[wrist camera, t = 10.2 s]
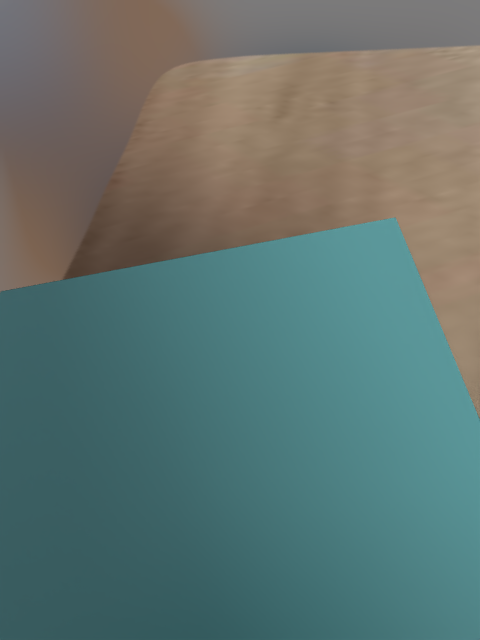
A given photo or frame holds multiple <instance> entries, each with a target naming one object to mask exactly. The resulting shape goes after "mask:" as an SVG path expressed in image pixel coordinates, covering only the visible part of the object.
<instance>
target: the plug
mask: <svg viewBox="0 0 480 640" xmlns="http://www.w3.org/2000/svg"><path fill="white" fill-rule="evenodd" d="M0 640H480V419H479V417H478V415H477V412H476V410H475V407H474V405H473V403H472V400H471V398H470V395H469V393H468V391H467V388H466V386H465V383H464V381H463V379H462V376H461V374H460V371H459V369H458V367H457V364H456V362H455V359H454V357H453V355H452V352H451V350H450V347H449V345H448V343H447V340H446V338H445V335H444V333H443V330H442V328H441V326H440V323H439V321H438V318H437V316H436V314H435V311H434V309H433V306H432V304H431V302H430V299H429V297H428V294H427V292H426V290H425V287H424V285H423V282H422V280H421V278H420V275H419V273H418V270H417V268H416V266H415V263H414V261H413V258H412V256H411V254H410V251H409V249H408V246H407V244H406V242H405V239H404V237H403V234H402V232H401V230H400V227H399V225H398V222H397V220H396V218H390V219H385V220H379V221H374V222H369V223H363V224H358V225H353V226H347V227H342V228H337V229H331V230H326V231H321V232H315V233H310V234H305V235H299V236H294V237H289V238H283V239H278V240H273V241H267V242H262V243H257V244H251V245H246V246H241V247H235V248H230V249H225V250H219V251H214V252H209V253H203V254H198V255H193V256H187V257H182V258H177V259H171V260H166V261H161V262H155V263H150V264H145V265H139V266H134V267H129V268H124V269H118V270H113V271H108V272H102V273H97V274H92V275H86V276H81V277H76V278H70V279H65V280H60V281H54V282H49V283H44V284H39V285H33V286H28V287H23V288H17V289H12V290H6V291H2V292H1V293H0Z"/></svg>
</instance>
